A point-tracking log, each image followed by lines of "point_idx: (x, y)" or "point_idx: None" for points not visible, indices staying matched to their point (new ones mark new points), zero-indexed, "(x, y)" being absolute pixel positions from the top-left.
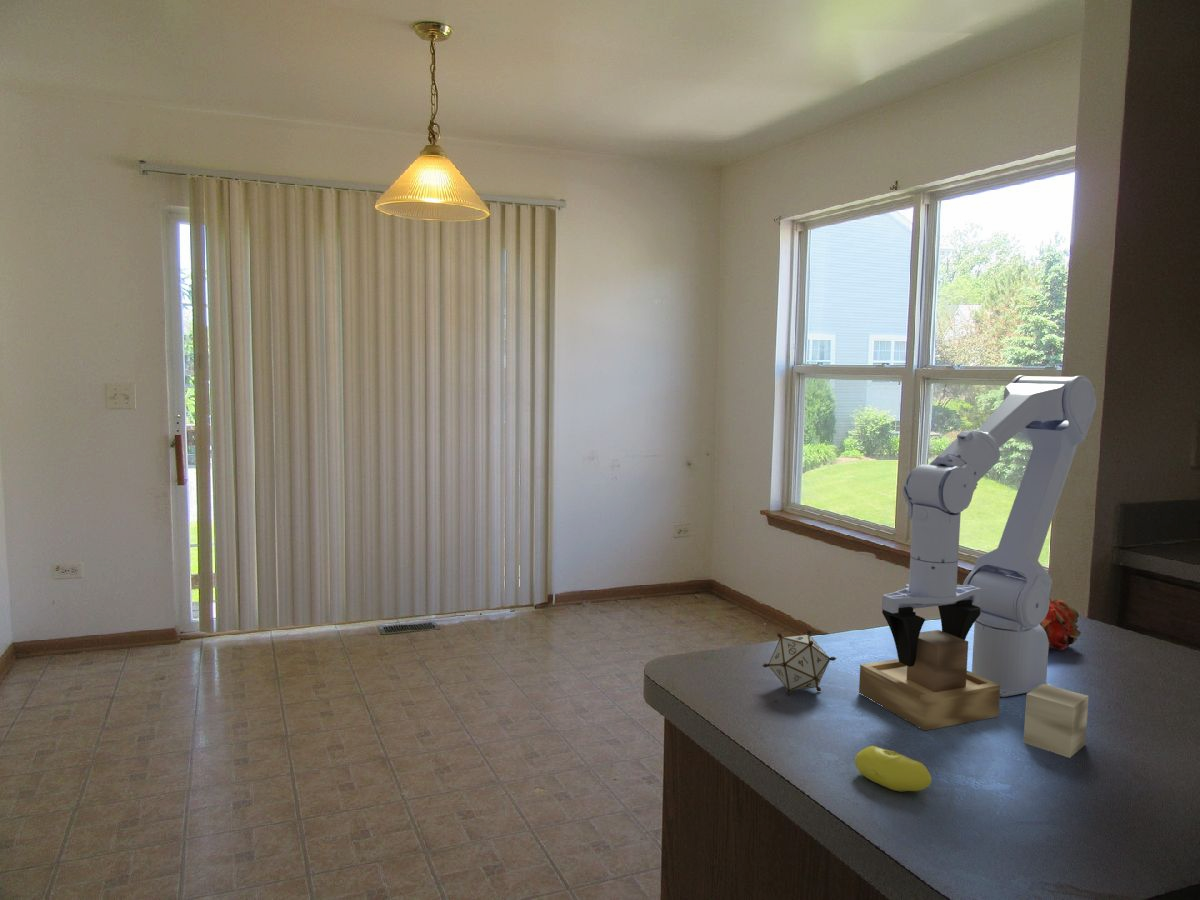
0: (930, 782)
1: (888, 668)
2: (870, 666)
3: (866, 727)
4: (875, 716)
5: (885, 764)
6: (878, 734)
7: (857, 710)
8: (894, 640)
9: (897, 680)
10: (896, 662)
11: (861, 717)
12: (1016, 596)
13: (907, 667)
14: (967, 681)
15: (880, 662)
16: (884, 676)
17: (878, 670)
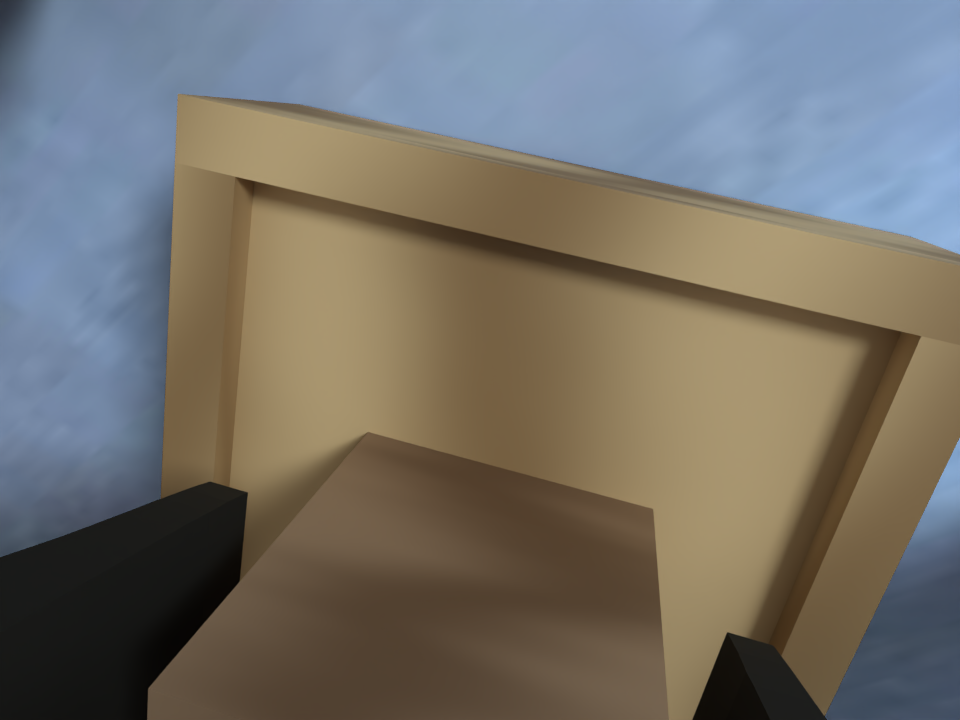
0: None
1: (418, 224)
2: (225, 177)
3: (47, 412)
4: (165, 364)
5: None
6: (51, 482)
7: (132, 264)
8: (22, 555)
9: (198, 474)
10: (510, 238)
11: (95, 331)
12: None
13: (331, 476)
14: (693, 705)
15: (373, 161)
16: (174, 376)
17: (221, 274)
